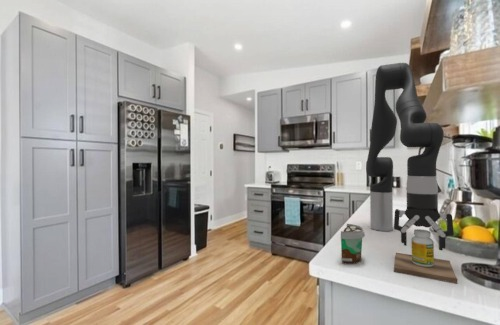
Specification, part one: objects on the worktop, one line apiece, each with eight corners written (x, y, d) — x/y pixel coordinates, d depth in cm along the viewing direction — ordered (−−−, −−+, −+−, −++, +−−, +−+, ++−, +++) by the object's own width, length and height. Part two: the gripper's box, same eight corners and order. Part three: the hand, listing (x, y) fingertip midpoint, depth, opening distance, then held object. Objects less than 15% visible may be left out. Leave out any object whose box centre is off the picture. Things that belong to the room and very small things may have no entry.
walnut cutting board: (395, 256, 84) (395, 252, 84) (449, 264, 76) (449, 260, 76) (393, 271, 72) (393, 267, 72) (457, 283, 64) (457, 278, 65)
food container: (363, 268, 74) (362, 234, 74) (340, 264, 77) (340, 231, 77) (366, 255, 85) (366, 225, 85) (347, 252, 88) (346, 223, 88)
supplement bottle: (416, 259, 78) (416, 227, 78) (437, 264, 73) (436, 231, 73) (408, 262, 75) (407, 230, 75) (429, 269, 70) (428, 234, 70)
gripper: (450, 191, 74) (451, 247, 74) (394, 189, 81) (394, 240, 81) (454, 194, 67) (455, 255, 67) (393, 191, 75) (393, 246, 75)
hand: (422, 247), depth 74 cm, fingers open, 8 cm apart
